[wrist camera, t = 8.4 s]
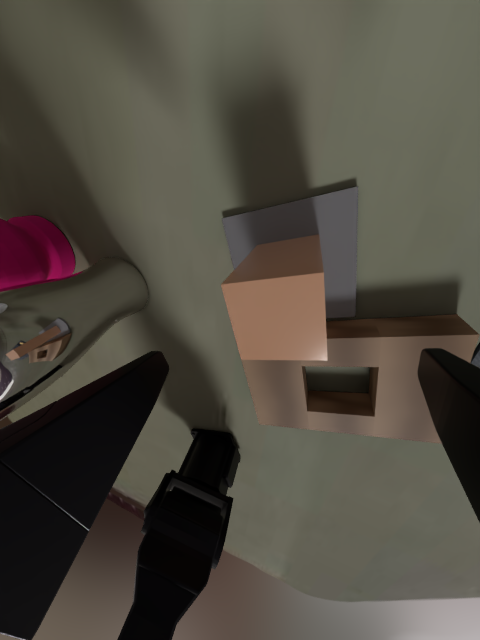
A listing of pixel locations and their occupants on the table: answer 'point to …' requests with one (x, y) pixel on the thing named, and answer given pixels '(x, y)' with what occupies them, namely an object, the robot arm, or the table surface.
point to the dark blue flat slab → (476, 357)
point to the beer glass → (60, 324)
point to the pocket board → (384, 382)
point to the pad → (306, 220)
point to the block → (279, 301)
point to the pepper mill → (33, 251)
